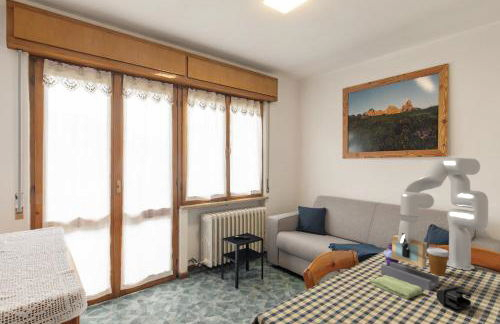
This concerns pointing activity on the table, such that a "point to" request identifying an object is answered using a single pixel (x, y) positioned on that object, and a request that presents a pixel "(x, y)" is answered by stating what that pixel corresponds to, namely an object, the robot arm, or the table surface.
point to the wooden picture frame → (416, 252)
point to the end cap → (454, 298)
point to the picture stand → (411, 276)
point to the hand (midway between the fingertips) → (408, 255)
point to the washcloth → (397, 287)
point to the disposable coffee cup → (437, 260)
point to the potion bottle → (390, 255)
